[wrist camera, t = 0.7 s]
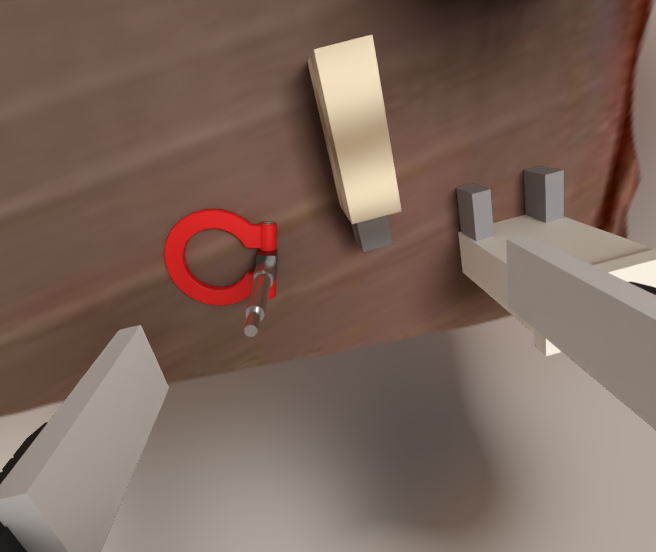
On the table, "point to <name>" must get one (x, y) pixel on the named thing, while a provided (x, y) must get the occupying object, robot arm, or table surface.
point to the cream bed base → (547, 226)
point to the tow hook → (254, 282)
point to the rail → (357, 137)
